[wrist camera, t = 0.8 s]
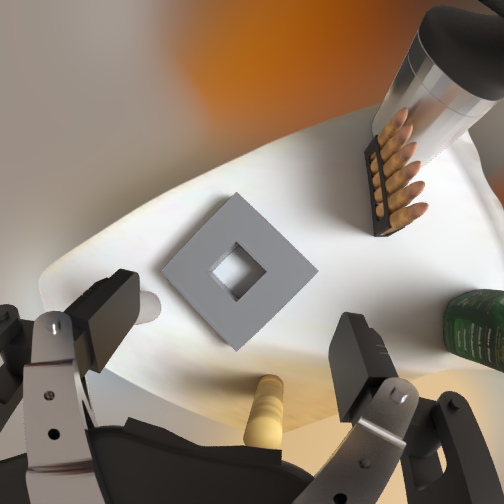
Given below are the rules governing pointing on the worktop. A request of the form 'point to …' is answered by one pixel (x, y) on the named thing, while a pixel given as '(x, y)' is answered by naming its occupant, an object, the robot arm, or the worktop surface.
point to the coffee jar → (476, 327)
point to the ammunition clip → (393, 177)
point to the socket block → (216, 250)
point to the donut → (148, 307)
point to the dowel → (266, 414)
